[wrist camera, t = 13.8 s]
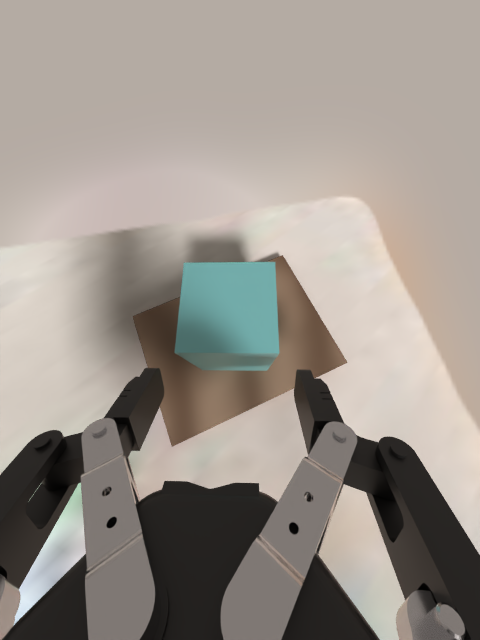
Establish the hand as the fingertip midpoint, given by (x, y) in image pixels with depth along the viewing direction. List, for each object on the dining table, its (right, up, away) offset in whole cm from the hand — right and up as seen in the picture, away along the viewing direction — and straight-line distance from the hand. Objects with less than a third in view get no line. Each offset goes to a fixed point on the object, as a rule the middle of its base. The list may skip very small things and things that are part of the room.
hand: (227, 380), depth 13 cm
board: (0, +1, +8) cm, 9 cm away
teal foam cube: (0, +2, +7) cm, 7 cm away
